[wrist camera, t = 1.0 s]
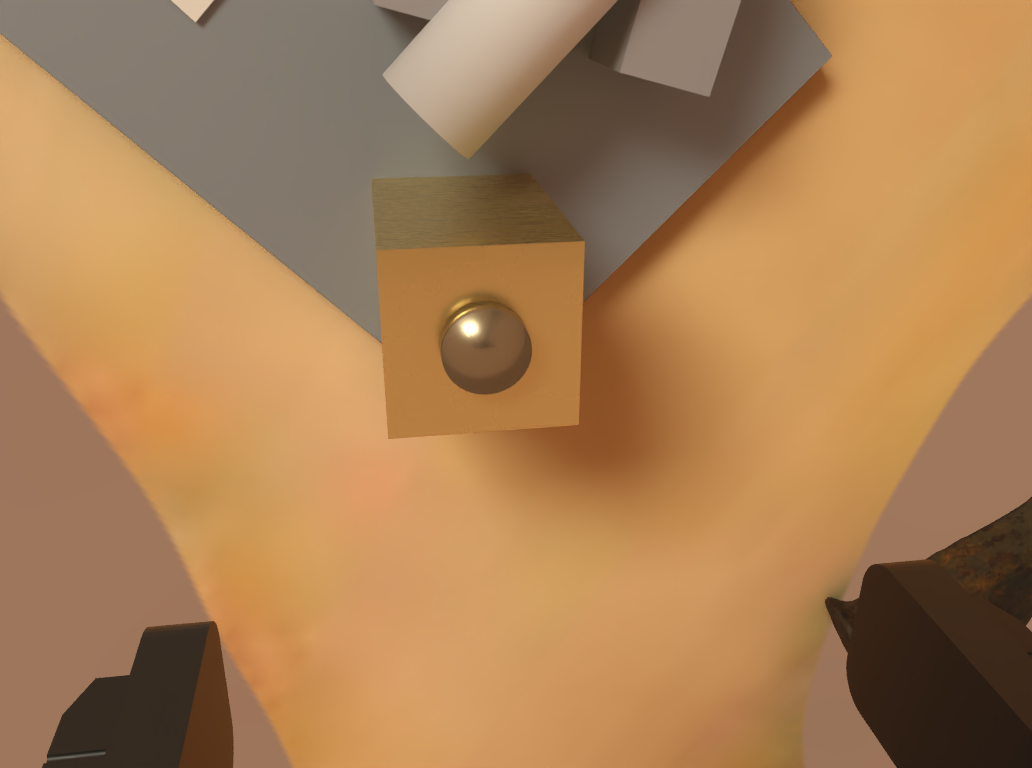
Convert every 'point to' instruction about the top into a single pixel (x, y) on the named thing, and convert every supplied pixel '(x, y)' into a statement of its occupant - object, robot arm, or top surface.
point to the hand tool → (977, 569)
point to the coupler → (477, 305)
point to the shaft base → (351, 126)
